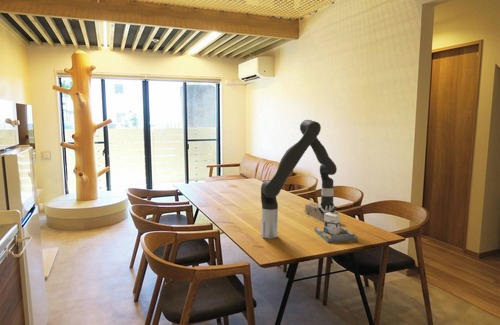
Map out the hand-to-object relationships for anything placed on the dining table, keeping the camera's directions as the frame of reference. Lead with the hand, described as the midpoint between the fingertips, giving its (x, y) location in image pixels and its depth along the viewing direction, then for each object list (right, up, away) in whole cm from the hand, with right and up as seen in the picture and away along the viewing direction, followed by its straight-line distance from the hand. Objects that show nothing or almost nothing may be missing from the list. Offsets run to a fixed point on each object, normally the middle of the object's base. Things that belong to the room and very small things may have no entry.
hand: (326, 221), depth 214 cm
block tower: (0, -2, +22) cm, 22 cm away
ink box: (+1, -6, -9) cm, 11 cm away
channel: (+2, -6, -15) cm, 16 cm away
